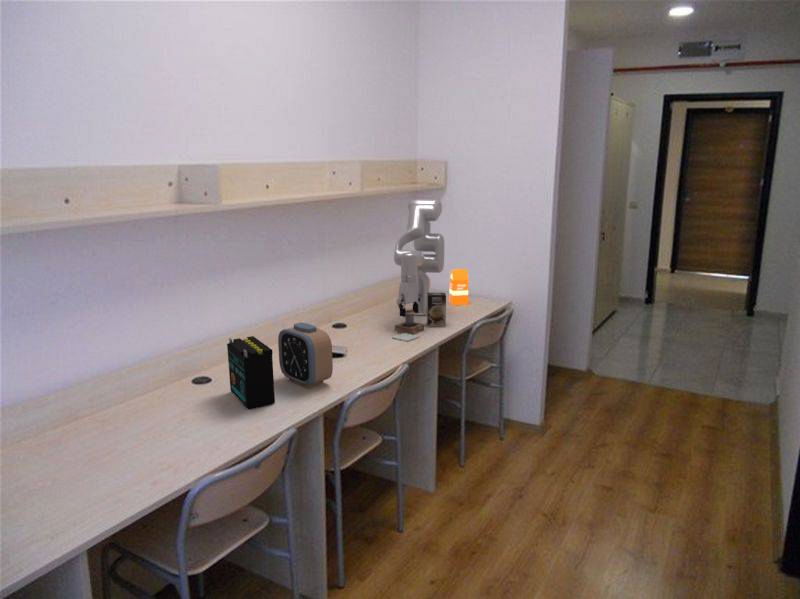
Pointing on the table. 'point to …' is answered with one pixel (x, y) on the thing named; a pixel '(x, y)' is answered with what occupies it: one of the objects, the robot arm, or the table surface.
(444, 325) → the coffee box
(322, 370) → the alarm clock
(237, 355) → the battery
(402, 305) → the robot arm
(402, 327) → the socket block
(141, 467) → the table surface
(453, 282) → the orange juice
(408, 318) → the plug
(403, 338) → the mat
